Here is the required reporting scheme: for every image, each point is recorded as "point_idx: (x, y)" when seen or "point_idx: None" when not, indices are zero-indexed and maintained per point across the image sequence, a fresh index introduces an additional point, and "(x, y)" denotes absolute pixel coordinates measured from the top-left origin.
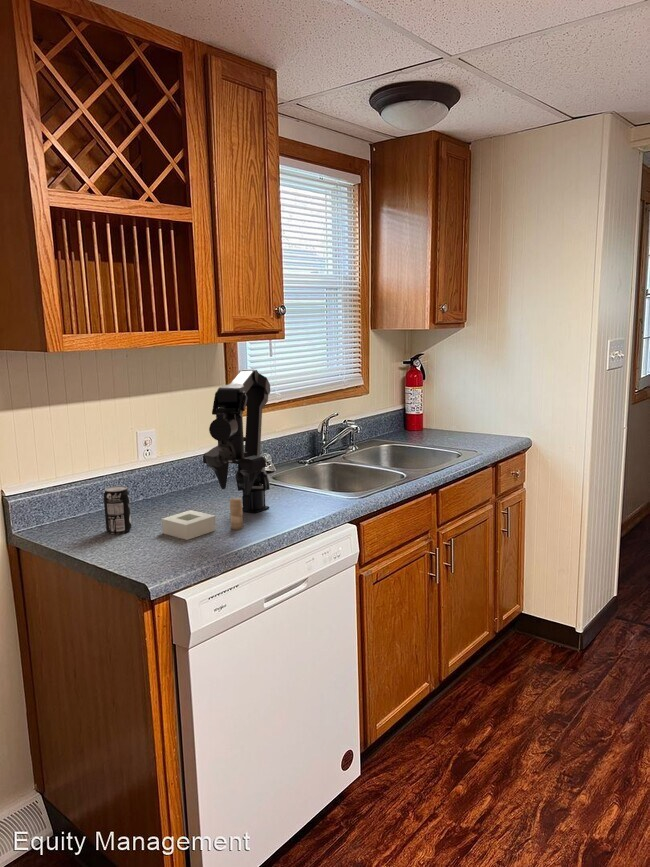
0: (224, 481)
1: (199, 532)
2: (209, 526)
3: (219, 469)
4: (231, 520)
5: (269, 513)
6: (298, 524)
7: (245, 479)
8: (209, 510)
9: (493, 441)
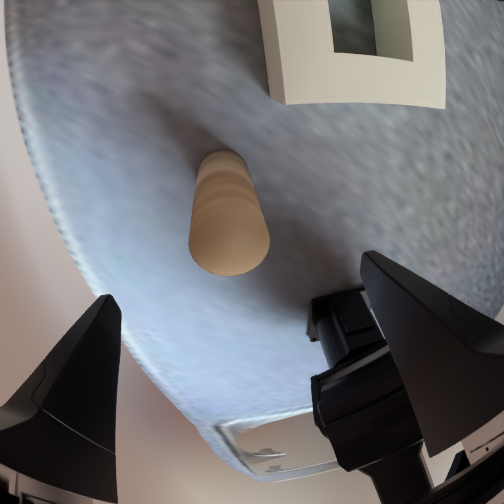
0: (385, 310)
1: (261, 8)
2: (271, 62)
3: (466, 377)
4: (228, 162)
5: (276, 322)
6: (125, 319)
7: (36, 383)
8: (442, 230)
9: (277, 478)
